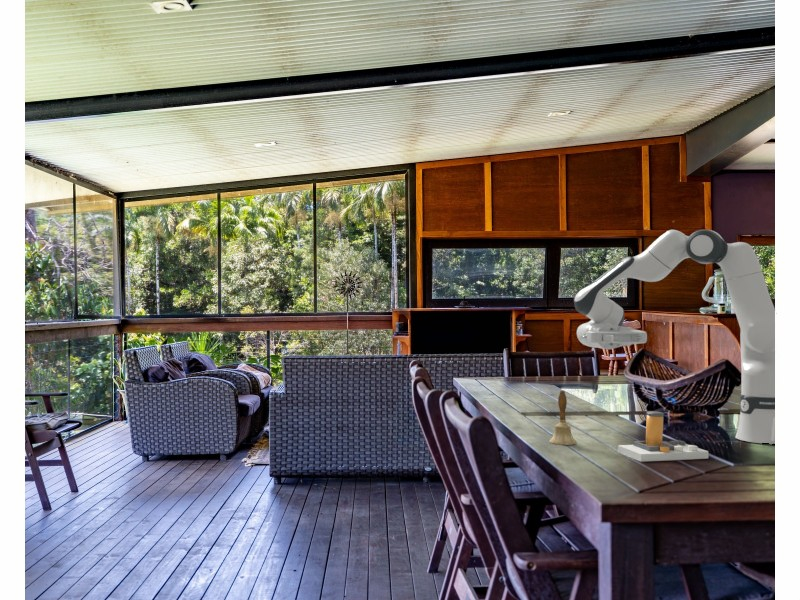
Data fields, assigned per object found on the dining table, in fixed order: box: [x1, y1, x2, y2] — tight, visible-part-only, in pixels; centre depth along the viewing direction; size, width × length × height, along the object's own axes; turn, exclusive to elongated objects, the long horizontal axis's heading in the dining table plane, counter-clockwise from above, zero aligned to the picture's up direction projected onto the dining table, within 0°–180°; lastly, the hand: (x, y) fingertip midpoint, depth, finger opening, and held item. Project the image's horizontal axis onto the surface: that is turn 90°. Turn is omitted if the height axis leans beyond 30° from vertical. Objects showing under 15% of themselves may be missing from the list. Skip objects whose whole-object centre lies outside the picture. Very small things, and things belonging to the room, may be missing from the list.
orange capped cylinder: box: [645, 410, 664, 446], centre depth 198 cm, size 4×4×10 cm
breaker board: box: [617, 440, 709, 462], centre depth 198 cm, size 21×12×3 cm, turn 102°
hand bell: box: [548, 390, 578, 446], centre depth 215 cm, size 8×8×16 cm
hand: (628, 338), depth 223 cm, fingers open, 8 cm apart
